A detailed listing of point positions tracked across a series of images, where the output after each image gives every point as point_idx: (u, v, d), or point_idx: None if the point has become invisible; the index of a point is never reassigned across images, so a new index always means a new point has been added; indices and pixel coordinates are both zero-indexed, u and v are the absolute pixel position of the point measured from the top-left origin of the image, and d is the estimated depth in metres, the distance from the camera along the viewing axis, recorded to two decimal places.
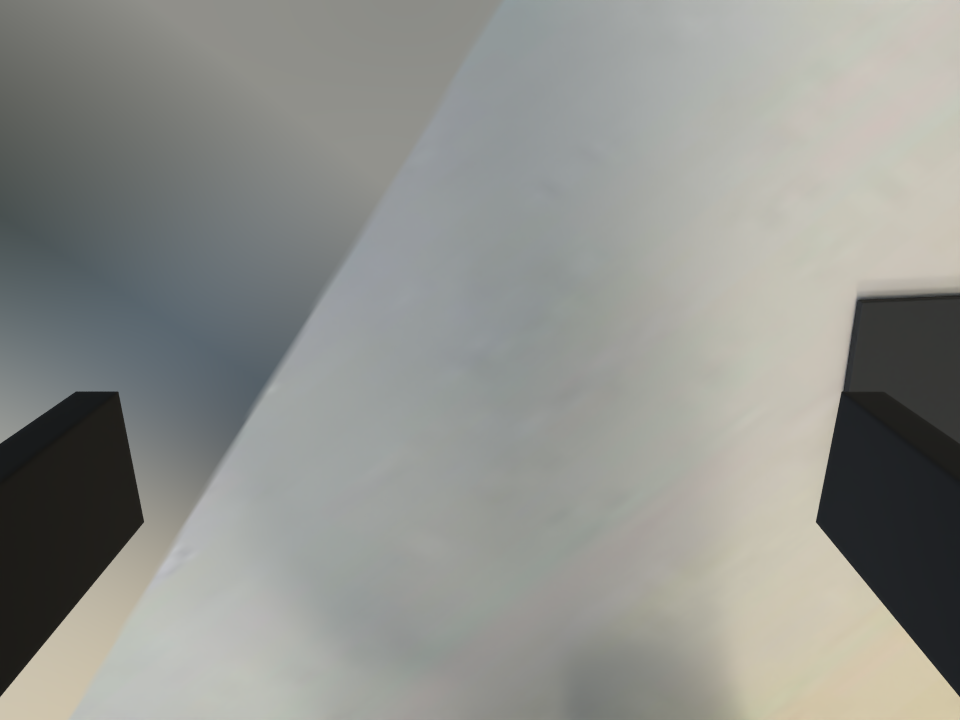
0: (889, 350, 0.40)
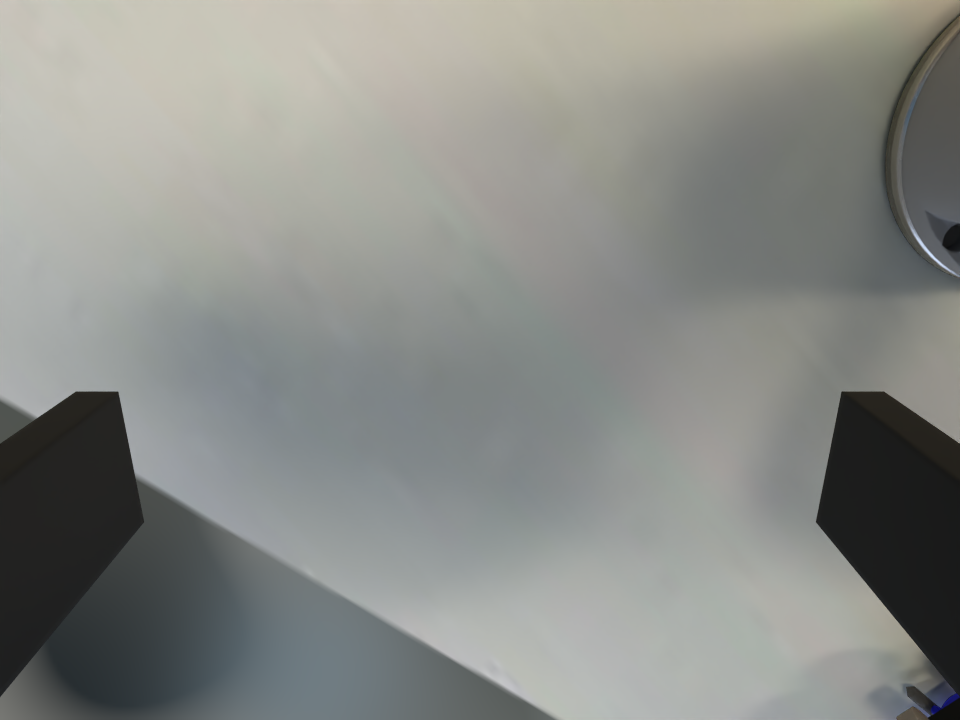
0: None
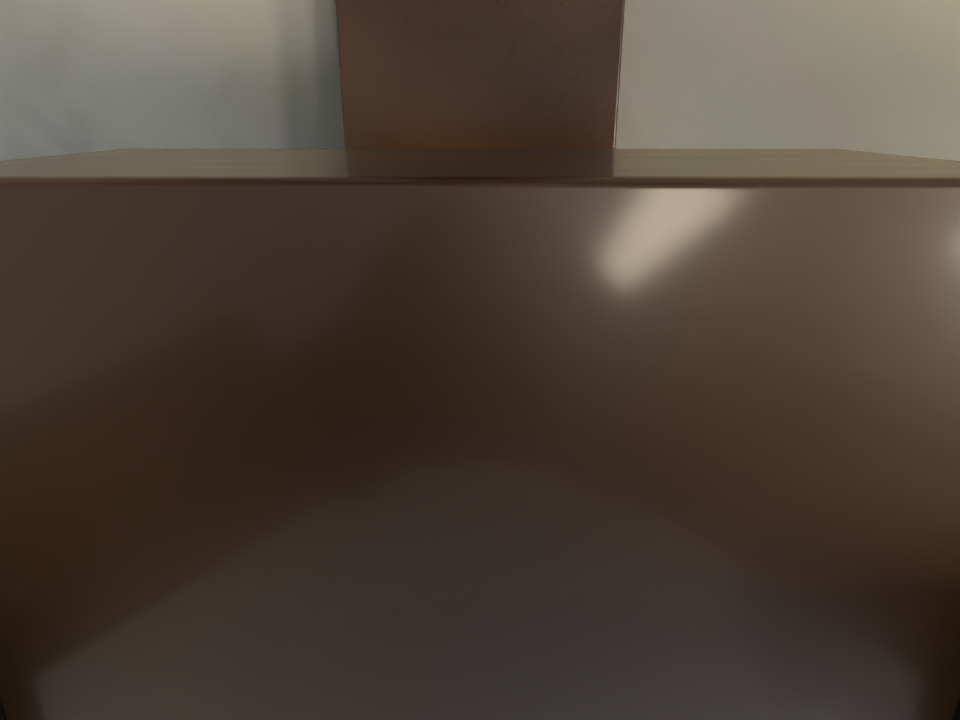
0: None
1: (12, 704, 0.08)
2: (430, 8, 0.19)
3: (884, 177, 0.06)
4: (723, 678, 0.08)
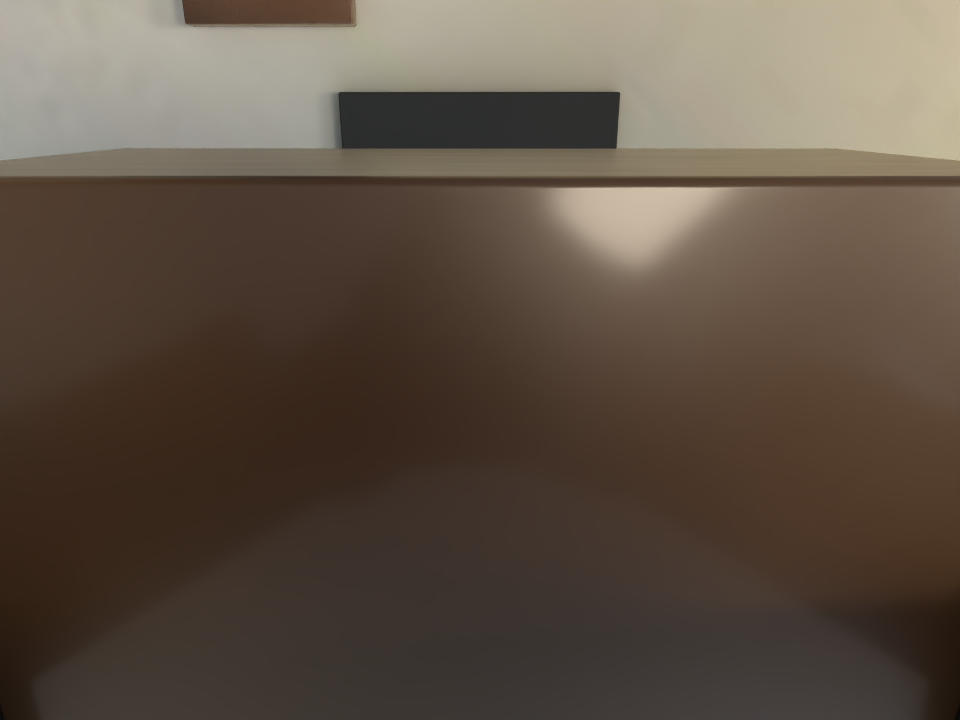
0: None
1: (10, 705, 0.08)
2: None
3: (886, 177, 0.06)
4: (724, 679, 0.08)
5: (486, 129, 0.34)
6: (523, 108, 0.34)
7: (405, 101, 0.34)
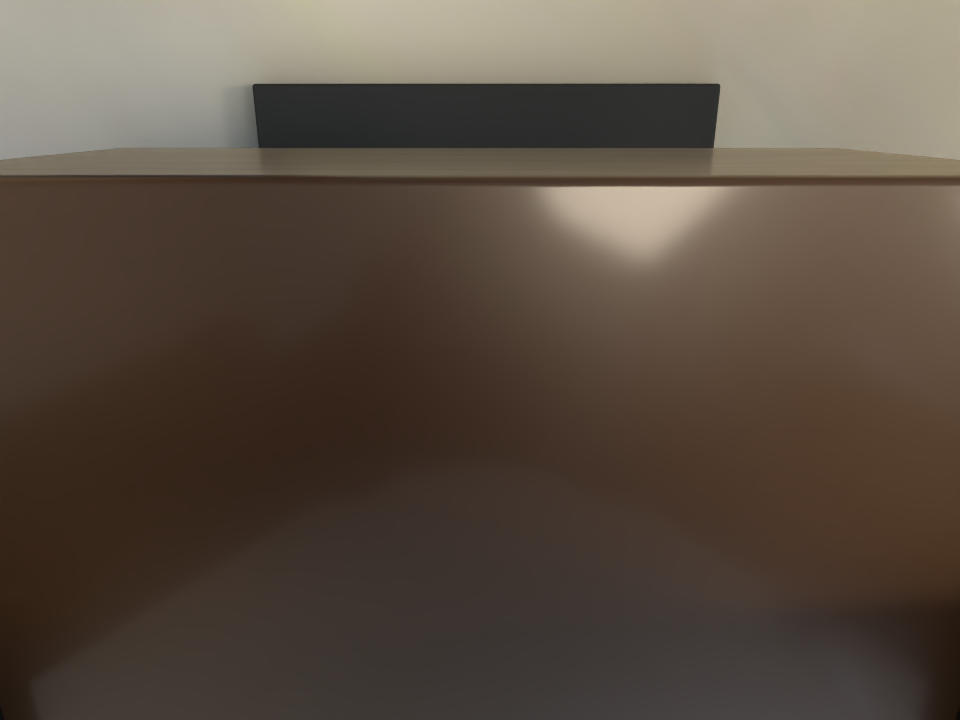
0: None
1: (10, 705, 0.08)
2: None
3: (886, 176, 0.06)
4: (723, 679, 0.08)
5: (497, 145, 0.21)
6: (559, 110, 0.20)
7: (363, 99, 0.20)
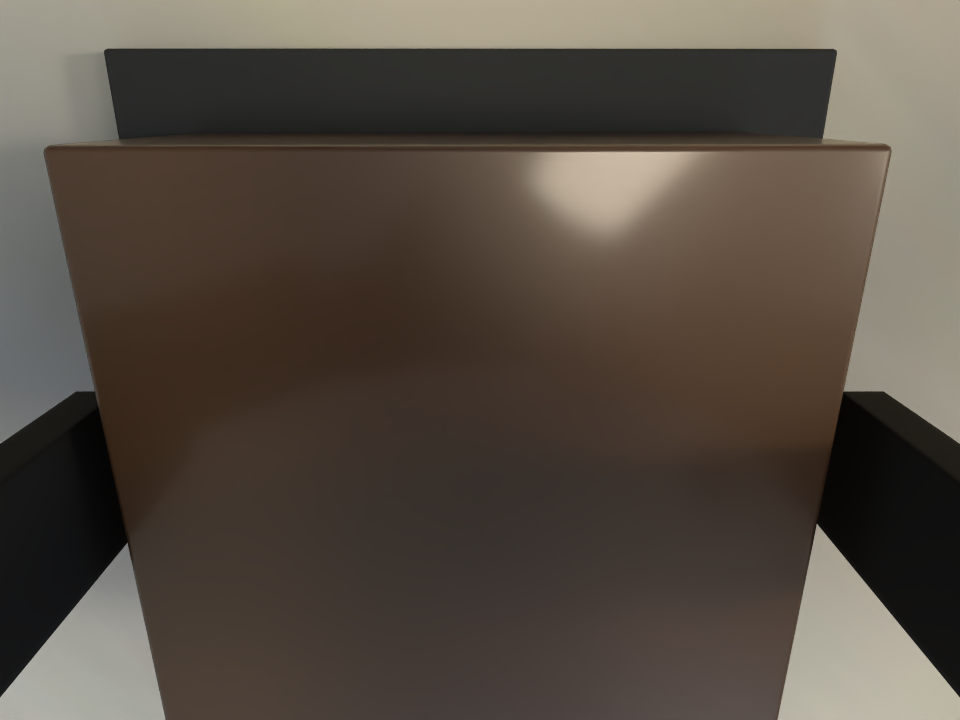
0: None
1: (134, 531, 0.11)
2: None
3: (735, 144, 0.09)
4: (645, 507, 0.11)
5: None
6: (586, 90, 0.13)
7: (279, 73, 0.13)
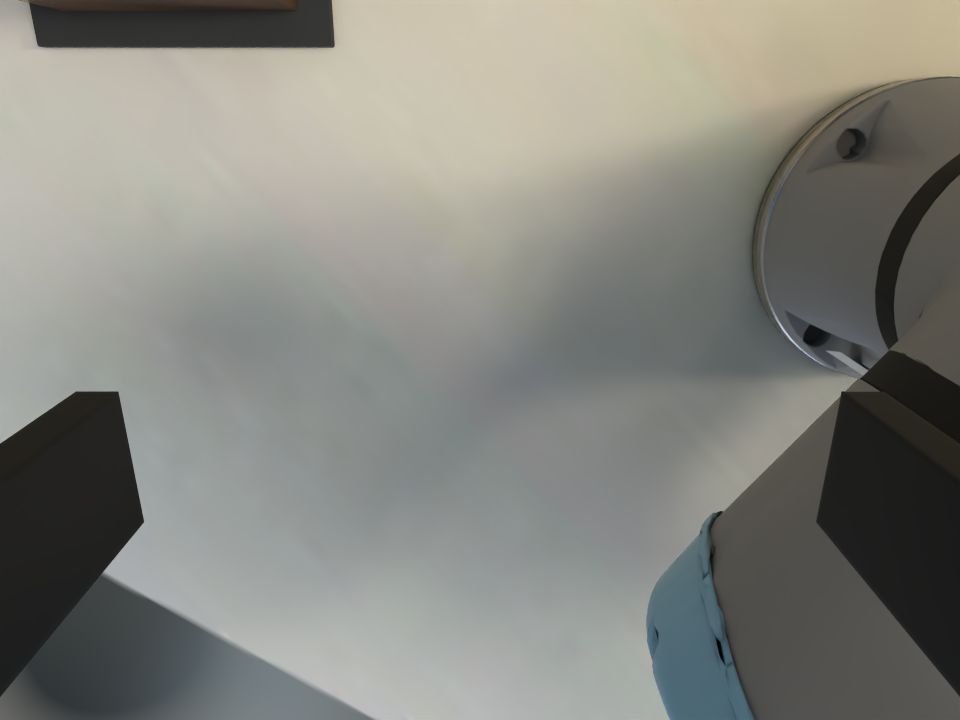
0: None
1: None
2: None
3: None
4: None
5: None
6: None
7: None
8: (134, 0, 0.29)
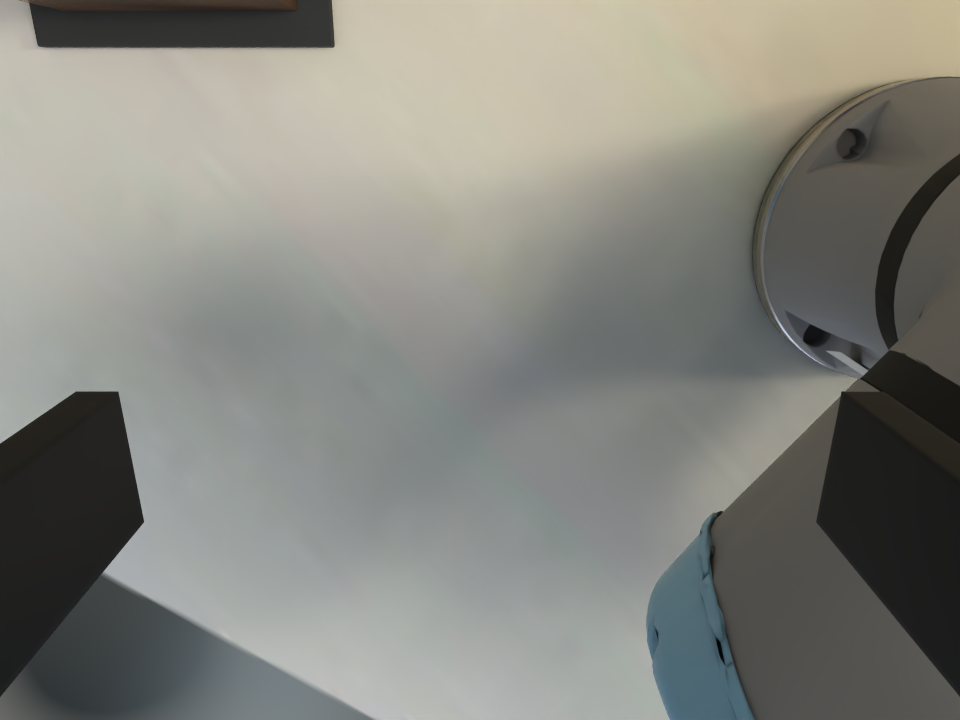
0: None
1: None
2: None
3: None
4: None
5: None
6: None
7: None
8: (134, 0, 0.29)
